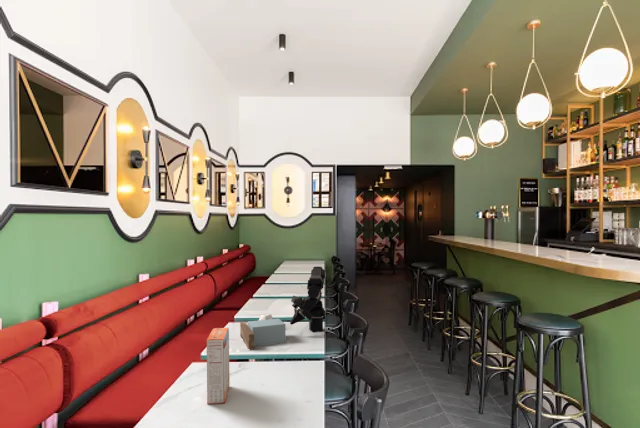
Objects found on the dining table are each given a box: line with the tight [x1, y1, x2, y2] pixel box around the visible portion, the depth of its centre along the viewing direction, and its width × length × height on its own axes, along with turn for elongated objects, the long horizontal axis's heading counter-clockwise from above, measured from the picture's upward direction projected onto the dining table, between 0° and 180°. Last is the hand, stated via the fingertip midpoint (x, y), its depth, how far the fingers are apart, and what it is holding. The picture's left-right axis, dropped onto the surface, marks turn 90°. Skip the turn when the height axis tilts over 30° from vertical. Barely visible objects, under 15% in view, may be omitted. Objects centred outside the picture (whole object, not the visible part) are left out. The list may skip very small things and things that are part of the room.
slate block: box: [247, 318, 286, 347], centre depth 197 cm, size 16×12×9 cm
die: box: [258, 313, 274, 320], centre depth 217 cm, size 8×9×10 cm
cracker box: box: [206, 327, 230, 405], centre depth 135 cm, size 14×6×21 cm, turn 6°
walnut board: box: [239, 321, 255, 350], centre depth 194 cm, size 2×24×7 cm, turn 20°
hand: (290, 324), depth 202 cm, fingers closed
